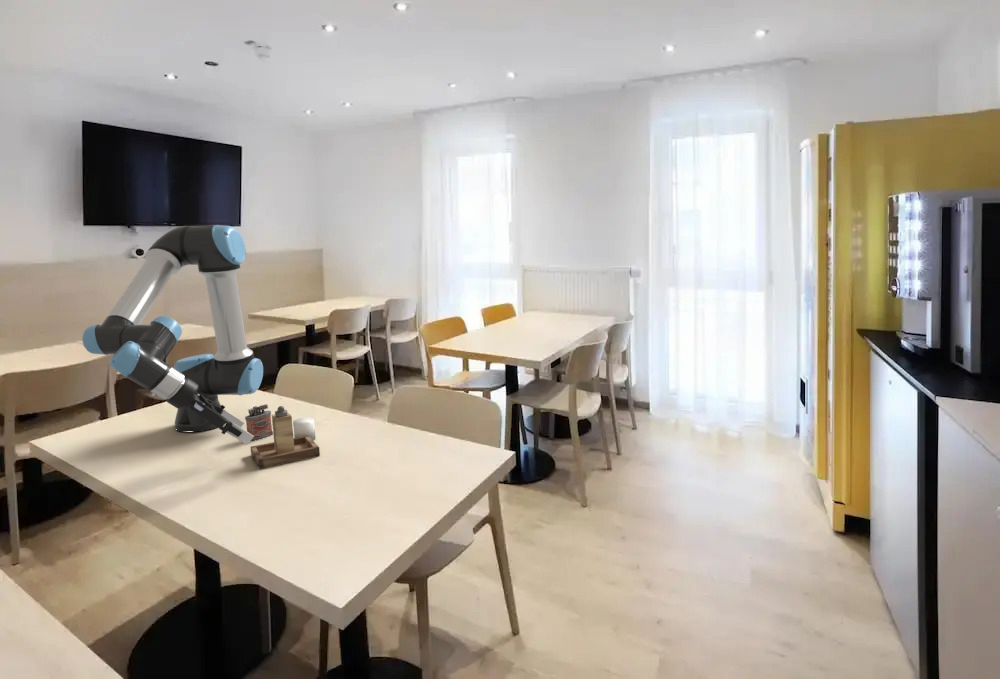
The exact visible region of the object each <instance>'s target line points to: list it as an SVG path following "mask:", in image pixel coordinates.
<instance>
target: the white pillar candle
mask: <svg viewBox="0 0 1000 679" xmlns="http://www.w3.org/2000/svg"><path fill="white" fill-rule="evenodd" d="M292 427H293V438H297V437H302V436H307V435H308V436H309V437H310V438H311V439H312V440H313V441H315V440H316V429H315V419H314V418H313V417H300V418H297V419H294V420H292Z"/></svg>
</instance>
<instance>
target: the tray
mask: <svg viewBox="0 0 1000 679" xmlns="http://www.w3.org/2000/svg"><path fill="white" fill-rule="evenodd" d="M293 438H294V449H295V451H292V452H288V453H283V454H278V455H277V454H276V453H275V446H274V441H273V442H268V443H262V444H257V445H252V446H250V456H251V457H252V459H253V460H254V462H255V464H256V466H257V468H258V469H259V470H261V469H266V468H270V467H276V466H280V465H285V464H289V463H293V462H297V461H298V462H299V461H302V460H307V459H312V458H316V457H320V455H321V453H320V447H319V445H318V444H317V443H316V442H315V440H312V439H311V438H310V437H309V436H308V435H307V436H302V437H297V438H295V437H293Z"/></svg>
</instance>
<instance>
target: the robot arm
mask: <svg viewBox="0 0 1000 679" xmlns="http://www.w3.org/2000/svg"><path fill="white" fill-rule="evenodd" d="M246 255H247V250H246V244H245V241H244V238H243V237H242V235H241V233H240V232H239V231H238V230H237V229H236V228H235V227H233V226H231V225H223V224H221V225H220V224H212V225H208V224H207V225H183V226H179V227H175V228H173V229H171V230H169V231H167V232H166V233H164V234H163V235H161V236H160V237H159V238H158V239H157V240H156V241H154V242H153V244H152V245H151V246H150V247H149V248H148V250H147V251H146V253H145V255H144V258H145V261H144V262H143V264H142V265H141V267H140V268H139V270H138V271H137V273H136V274H135V275H134V277H133V279H131V280H132V281H130V283H129V285H128V286H127V287H126V288H125V290H124V292H123V293H122V294H121V296H120V297H119V299H118V301H117V302H116V303H115V304H114V305H113V307H112V309H111V311H110V312H109V313H108V314H107V317H106V318H105V319H104V321H103V323H101V324H95V325H90V326H87V327H86V328H85V329H84V331H83V333H82V338H81V340H82V344H83V347H84V348H85V350H86V351H87V352H89V353H90V354H93V355H105V356H106V355H107V356H109V355H113V356H111V359H110V360H109V365H110V366H111V368H112V369H113V370H115V371H116V372H117V373H119V374H120V375H121V376H123V377H125V378H127V379H129V380H130V381H132V382H134V383H136V384H137V385H139V386H141V387H142V388H144V389H145V390H147V391H149V392H150V393H151V397H159V398H161V399H162V400H166V403H168V404H169V405H171V406H173V407H174V408H175V409H177V411H176V416H175V419H174V428H175V429H177V430H179V431H201V432H204V431H203V430H206V431H210V430H209V429H211V430H213V428H214V429H216V427H217V429H219V430H221V434H222V435H225V434H226V433H227V434H228V435H230V436H232V437H233V438H235V439H236V440H238V441H240V442H241V443H243V444H245V445H246V446H248V445H249V443H251V442H250V441H251V440H252V438H253V437H254V436H253V435H251V434H250V433H248V432H247V430H245V429H243V428H242V427H243V425H244V424H245V421H244V420H243V421H242V420H241V419H240V418H238V417H237V416H235V415H234V414H232V413H231V412H229V411H227V410H226V409H225V408H226V406H225V405H224V404H221V403H220V400H219V396H221V395H222V396H228V395H229V396H231V395H233V396H243V395H252V394H254V393H256V392H257V391H258V390H259V388H260V386H261V384H262V380H263V377H264V365H263V362H262V360H261V359H260V358H256V357H255V356H254V355H255V354H254V351H253V350H252V349H250V347H248V344H247V337H246V331H245V330H246V329H245V326H244V317H243V312H242V305H241V299H240V292H239V285H238V279H237V273H238V272H239V271H240V270H241V264H243V263H244V261H245V260H246ZM188 265H191V266H193V265H195V266H196V265H197V269H198V273H199V274H201V275H202V276H204V277H205V278H204V279H205V282H206V289H207V294H208V300H209V306H210V312H211V318H212V319H211V320H212V324H213V329H214V335H215V342H216V347H217V351H216V353H215V354H213V353H204V354H196V355H192V356H188V357H184V358H181V359H178V360H177V361H176V362H175V363H174V364H173V366H171V365H169V364H168V363H167V362H165V360H166V358H167V357H168V356H169V354H171V352H172V350H173V349H174V348H175V346H176V345H177V343H178V341H179V339H180V338H181V336H182V333H183V328H182V326H181V325H180V323H179V322H178V321H177V320H175V319H174V318H171V317H169V316H165V315H164V316H163V315H161V316H158V317H157V316H156V318H154V319H153V320H152V321H151V322H150V323H149V324H142V323H143V322H144V320H145V318H146V317H147V315H148V313H150V311H151V309H152V308H153V306H154V304H155V302H156V301H157V299H158V298H159V296H160V294H162V291H163V289H164V288H165V287H166V285H167V283H168V282H169V280H170V279H171V278H172V275H175V274H178V273H179V271H180V270H181V269H182V268H183V267H186V266H188ZM179 431H178V432H179Z"/></svg>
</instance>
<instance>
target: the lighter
mask: <svg viewBox="0 0 1000 679" xmlns="http://www.w3.org/2000/svg"><path fill="white" fill-rule="evenodd" d="M266 409H269V404H267V403H266V404H265V403H264V404H261V405H259V406H258V405H255V406H253V407H252V408H248V409H247V412H248V415H246V416H245V417H244V420H245V421H246V422H245V423H246V431H247V432H248V433H250V434H251V435H253V436H254V437H253V438H252V440H251V441H252V442H256V441H259V439H260V440H264V439H267V438H269V437H271V435H272V436H274V435H273V425H272V412H271V410H266ZM263 438H264V439H263ZM255 440H256V441H255Z"/></svg>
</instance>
